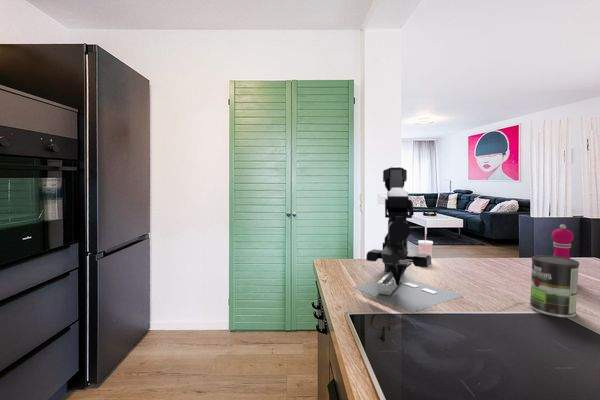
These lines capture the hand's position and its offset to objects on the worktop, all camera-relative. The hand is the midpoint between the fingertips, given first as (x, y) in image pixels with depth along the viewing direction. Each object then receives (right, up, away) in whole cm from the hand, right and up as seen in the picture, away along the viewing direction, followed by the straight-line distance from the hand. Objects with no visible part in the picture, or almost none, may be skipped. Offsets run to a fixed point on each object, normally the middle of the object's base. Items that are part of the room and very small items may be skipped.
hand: (398, 285), depth 103 cm
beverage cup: (+24, -1, +41) cm, 47 cm away
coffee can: (+39, -4, -12) cm, 41 cm away
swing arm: (-1, -1, +5) cm, 5 cm away
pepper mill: (+61, -2, +13) cm, 62 cm away
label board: (+3, -3, +1) cm, 4 cm away
